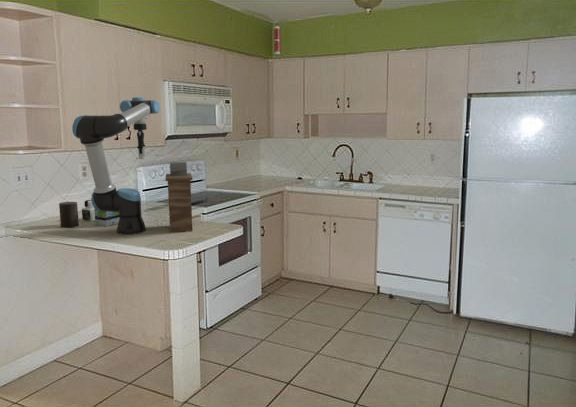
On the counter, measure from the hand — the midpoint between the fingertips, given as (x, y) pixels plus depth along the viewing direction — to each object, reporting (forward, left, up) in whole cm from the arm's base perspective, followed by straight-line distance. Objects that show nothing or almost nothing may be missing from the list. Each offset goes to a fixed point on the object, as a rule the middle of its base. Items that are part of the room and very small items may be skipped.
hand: (141, 158), depth 306 cm
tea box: (-24, +2, -37) cm, 44 cm away
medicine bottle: (-25, +20, -37) cm, 49 cm away
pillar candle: (-42, +15, -37) cm, 58 cm away
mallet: (-2, -34, -7) cm, 35 cm away
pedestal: (-10, -43, -37) cm, 57 cm away
